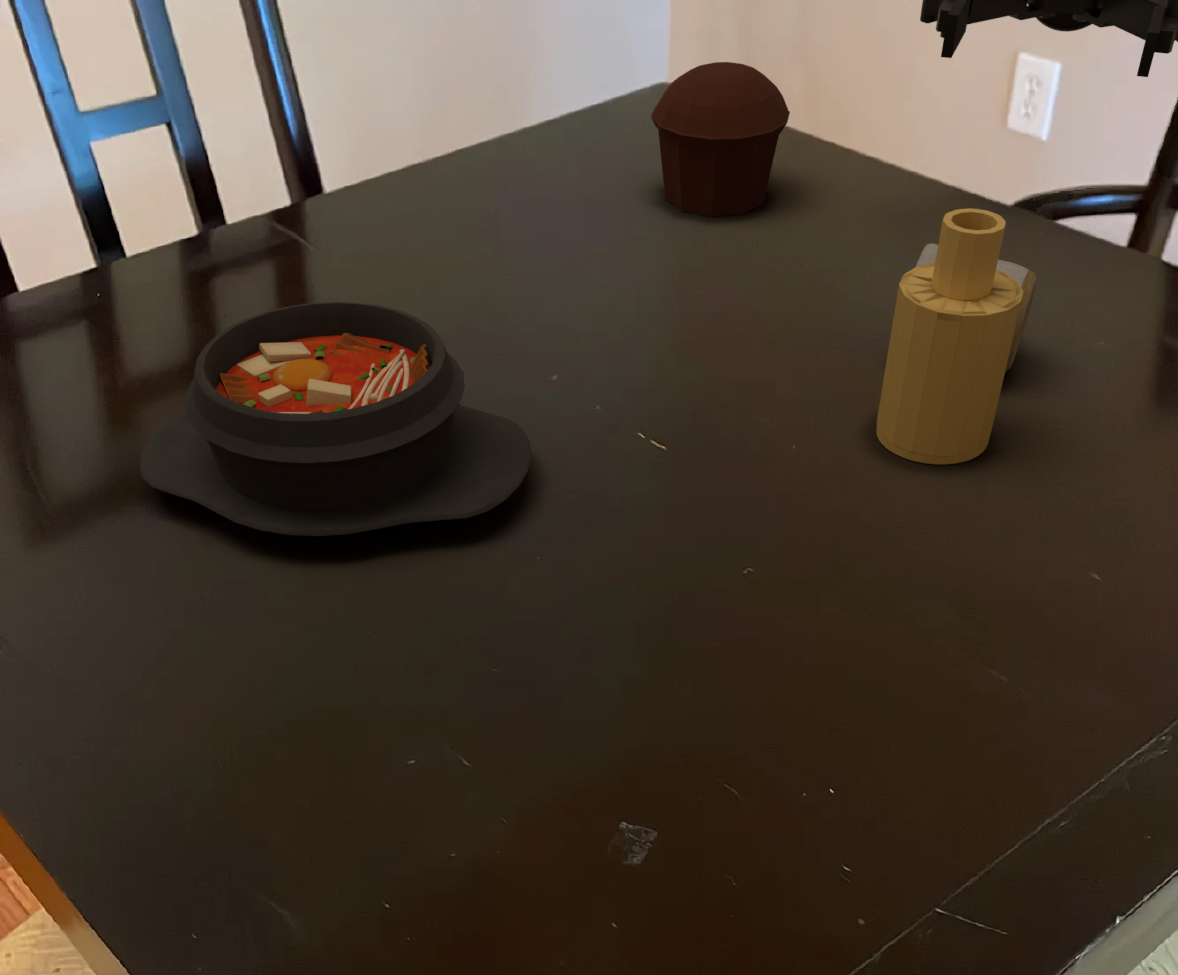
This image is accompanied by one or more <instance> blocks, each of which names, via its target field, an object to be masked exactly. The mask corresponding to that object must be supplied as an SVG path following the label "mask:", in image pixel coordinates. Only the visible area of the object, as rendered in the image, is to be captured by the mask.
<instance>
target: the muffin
mask: <svg viewBox="0 0 1178 975" xmlns="http://www.w3.org/2000/svg"><path fill="white" fill-rule="evenodd" d="M790 113H791V112H790V111H789V108H788V106H787V103H786V100H785V97H784V96H783V94H782V93H781V91H780V90H779V88H778V86H777V85H776V84H775V83H773V81H772V80H771V79H769V77H767V76H766V75H765V74H764V73H762V72H761V71H759V70H758V69H757V68H755V67H753V66H750V65H748V64H744V63H739V62H732V61H731V62H730V61H719V62H718V61H716V62H710V63H705V64H701V65H697V66H696V67H693V68H691V69H689V70H688V71H686V72H684V73H683V74H681V75H680V76H678V77H676V78H675V79H674V80H673V81H672V82H670V84H669V85H668V87H667V88H666V89H665V91H664V92H663V94H662V95H661V97H660V99H659V100H658V102H657V104H656V105H655V106H654V109H653V110H652V113H651V115H650V119H651V120H652V122H653V124H654V127H656V128H657V130H658V139H659V141H658V142H659V150H660V161H661V170H662V171H661V172H662V181H663V191H664V192H663V193H664V200H665V201H666V202H667V203H669V204H671V205H673V206H674V207H676V208H677V209H678V210H679V211H681V212H684V213H689V214H690V213H691V214H697V215H701V216H705V217H711V218H714V217H722V216H730V215H731V216H732V215H733V216H734V215H745V214H746V213H748V212H749V211H751V210H753V209H755V208H758V207H761V206H763V205H764V201H765V198H766V192H767V189H768V186H769V185H768V184H769V180H770V175H771V171H772V168H773V162H774V158H775V153H776V149H777V145H778V142H779V136H780V134H781V133H782V132H783V130H784V129H785V127H786V126H787V125H788V121H789V118H790Z"/></svg>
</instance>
